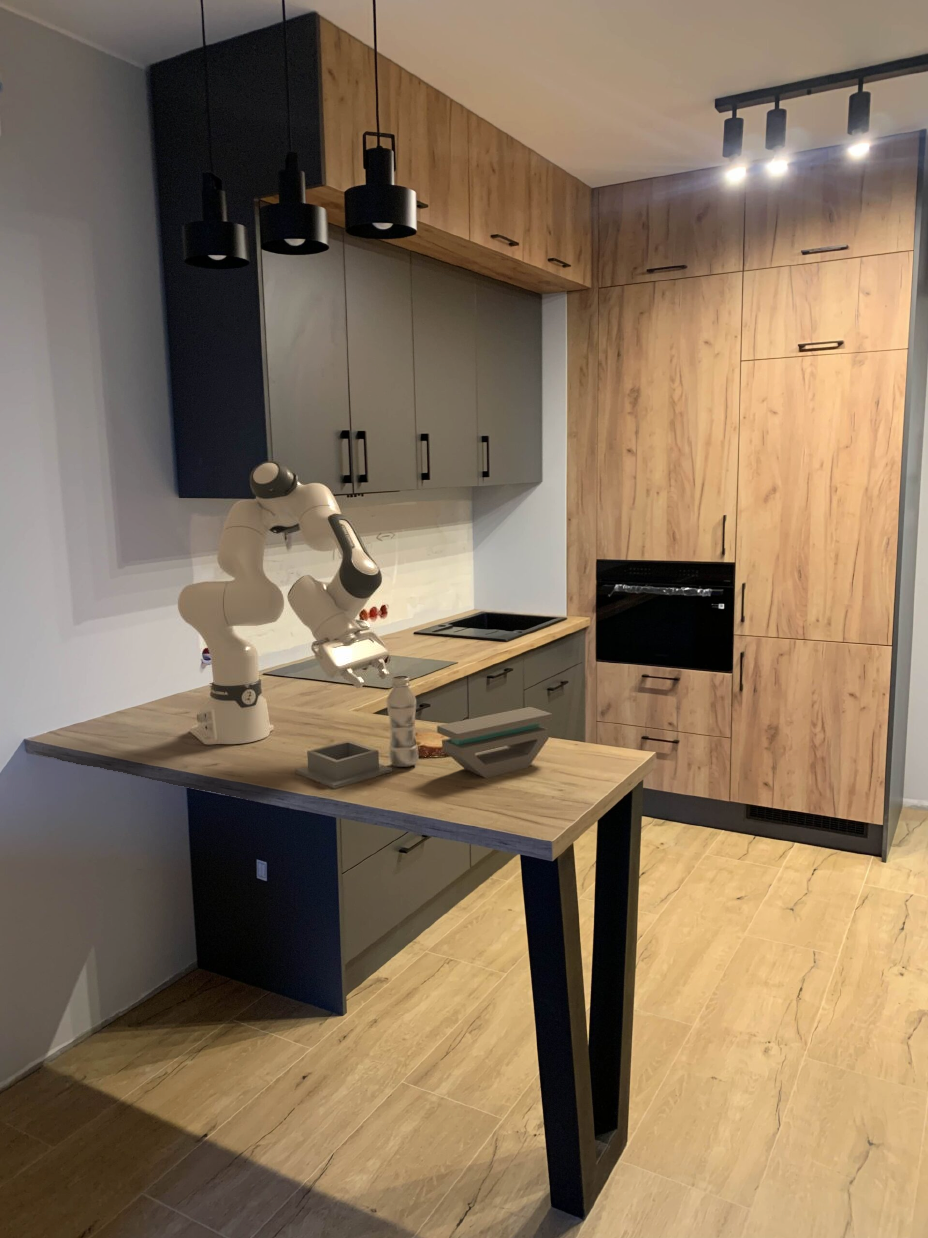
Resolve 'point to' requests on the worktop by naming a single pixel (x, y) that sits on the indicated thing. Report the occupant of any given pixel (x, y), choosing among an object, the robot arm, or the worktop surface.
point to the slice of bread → (430, 744)
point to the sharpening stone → (496, 741)
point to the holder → (342, 764)
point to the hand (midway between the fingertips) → (374, 681)
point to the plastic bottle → (402, 723)
